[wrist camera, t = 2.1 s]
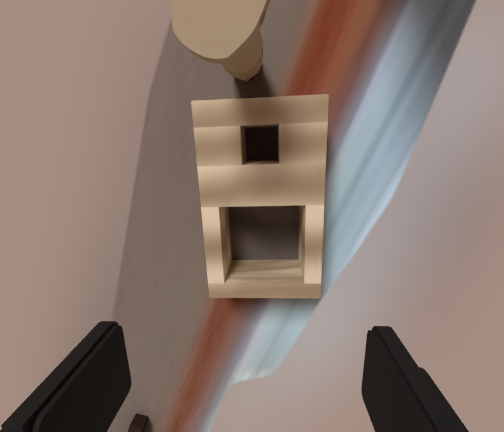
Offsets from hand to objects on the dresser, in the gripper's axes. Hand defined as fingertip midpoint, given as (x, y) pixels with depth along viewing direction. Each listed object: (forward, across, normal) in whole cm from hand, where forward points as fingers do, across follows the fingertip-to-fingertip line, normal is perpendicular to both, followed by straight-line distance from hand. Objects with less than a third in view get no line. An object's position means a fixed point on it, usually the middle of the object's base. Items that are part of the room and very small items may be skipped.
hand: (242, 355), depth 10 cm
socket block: (+23, 0, -2) cm, 23 cm away
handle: (+23, +1, -16) cm, 28 cm away
